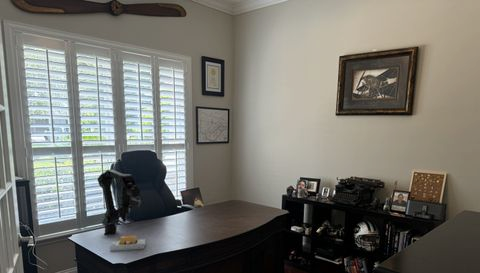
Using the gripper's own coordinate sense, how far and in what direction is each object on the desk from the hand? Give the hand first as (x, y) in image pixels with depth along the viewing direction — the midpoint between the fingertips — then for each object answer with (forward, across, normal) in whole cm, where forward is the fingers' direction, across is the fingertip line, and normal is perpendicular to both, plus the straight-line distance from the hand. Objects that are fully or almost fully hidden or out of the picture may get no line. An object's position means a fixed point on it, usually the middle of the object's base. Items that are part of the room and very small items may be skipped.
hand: (126, 219), depth 174 cm
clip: (+12, -14, -4) cm, 19 cm away
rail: (+12, -14, -4) cm, 19 cm away
